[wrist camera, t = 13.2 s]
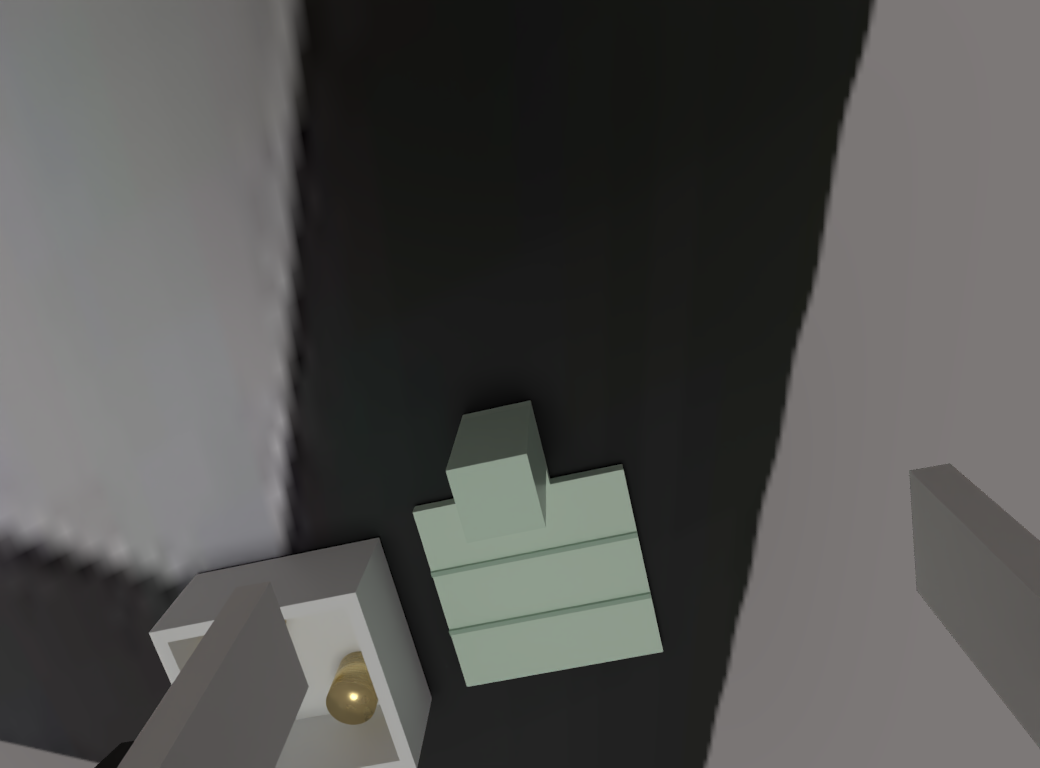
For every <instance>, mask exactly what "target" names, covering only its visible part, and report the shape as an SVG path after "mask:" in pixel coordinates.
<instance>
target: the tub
mask: <svg viewBox="0 0 1040 768" xmlns="http://www.w3.org/2000/svg"><path fill="white" fill-rule="evenodd" d="M269 581H270V582H271V585H272V588H273V590H274V593H275V596H276V598H277V601H278V604H279V607H280V609H281V612H282V615H283V618H284V620H286V626H287V628H288V631H289V634H290V637H291V639H292V642H293V645H294V648H295V650H296V653H297V656H298V658H299V661H300V664H301V667H302V669H303V672H304V675H305V678H306V680H307V683H308V686H309V687H308V690H307V692H306V695H305V697H304V699H303V702H302V704H301V707H300V709H299V711H298V714H297V716H296V719H295V721H294V723H293V726H292V728H291V731H290V733H289V735H288V738H287V740H286V743H285V745H284V747H283V750H282V752H281V755H280V757H279V759H278V762H277V764H276V767H275V768H417V766H418V762H419V757H420V752H421V747H422V743H423V738H424V733H425V728H426V724H427V719H428V714H429V709H430V705H431V700H432V697H431V694H430V691H429V688H428V685H427V682H426V679H425V676H424V673H423V670H422V667H421V664H420V661H419V658H418V655H417V651H416V648H415V645H414V642H413V639H412V636H411V633H410V630H409V627H408V624H407V621H406V618H405V615H404V612H403V609H402V606H401V603H400V600H399V597H398V594H397V591H396V588H395V585H394V582H393V579H392V576H391V572H390V569H389V566H388V563H387V560H386V557H385V554H384V551H383V548H382V545H381V542H380V539H379V538H374V539H369V540H364V541H359V542H354V543H349V544H345V545H340V546H335V547H330V548H325V549H320V550H315V551H310V552H305V553H300V554H295V555H290V556H285V557H281V558H276V559H271V560H266V561H261V562H256V563H251V564H246V565H241V566H236V567H231V568H226V569H222V570H217V571H212V572H207V573H202V574H197V575H195V576H194V578H193V579H192V580H191V581H190V583H189V584H188V585H187V586H186V588H185V589H184V590H183V591H182V593H181V594H180V595H179V596H178V597H177V599H176V600H175V601H174V602H173V604H172V605H171V606H170V607H169V609H168V610H167V611H166V612H165V614H164V615H163V616H162V617H161V618H160V620H159V621H158V622H157V623H156V625H155V626H154V627H153V628H152V630H151V631H150V632H149V635H150V637H151V639H152V641H153V644H154V646H155V648H156V650H157V653H158V655H159V657H160V659H161V662H162V664H163V666H164V668H165V671H166V673H167V675H168V677H169V680H170V682H171V684H173V682H174V681H175V679H176V678H177V676H178V675H179V673H180V671H181V670H182V668H183V667H184V665H185V664H186V662H187V661H188V659H189V658H190V656H191V655H192V653H193V652H194V650H195V649H196V647H197V646H198V644H199V643H200V641H201V640H202V638H203V637H204V635H205V634H206V632H207V631H208V629H209V628H210V626H211V624H212V623H213V621H214V620H215V618H216V617H217V615H218V614H219V612H220V611H221V609H222V608H223V606H224V605H225V603H226V602H227V600H228V599H229V597H230V596H231V594H232V593H233V591H234V590H235V588H236V587H240V586H246V585H252V584H258V583H263V582H269ZM357 651H361V652H362V655H363V658H364V661H365V663H366V666H367V669H368V672H369V675H370V678H371V680H372V683H373V686H374V689H375V692H376V695H377V697H378V703H377V706H376V709H375V712H374V714H373V716H372V717H371V718H370V719H369V720H368V721H366V722H364V723H361V724H356V725H350V724H345V723H342V722H340V721H338V720H336V719H335V718H334V717H333V716H332V715H331V714H330V713H329V711H328V709H327V706H326V697H327V694H328V692H329V689H330V687H331V684H332V682H333V679H334V677H335V674H336V672H337V669H338V667H339V664H340V662H341V660H342V659H343V658H344V657H345V656H346V655H348V654H350V653H352V652H357Z"/></svg>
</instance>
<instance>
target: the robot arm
mask: <svg viewBox="0 0 1040 768" xmlns="http://www.w3.org/2000/svg"><path fill="white" fill-rule="evenodd" d="M909 473H910V489H911V506H912V523H913V539H914V555H915V570H916V586H917V591H918V593H919V594H920V595H921V596H922V598H923V599H924V600H925V602H926V603H927V604H928V606H929V607H930V608H931V609H932V611H933V612H934V613H935V615H936V616H937V617H938V618H939V620H940V621H941V622H942V624H943V625H944V626H945V627H946V629H947V630H948V631H949V633H950V634H951V635H952V636H953V638H954V639H955V640H956V642H957V643H958V644H959V645H960V647H961V648H962V649H963V651H964V652H965V653H966V654H967V656H968V657H969V658H970V660H971V661H972V662H973V663H974V665H975V666H976V667H977V669H978V670H979V671H980V672H981V674H982V675H983V676H984V678H985V679H986V680H987V681H988V682H989V684H990V685H991V686H992V688H993V689H994V690H995V691H996V693H997V694H998V695H999V697H1000V698H1001V699H1002V701H1003V702H1004V703H1005V704H1006V706H1007V707H1008V708H1009V710H1010V711H1011V712H1012V713H1013V715H1014V716H1015V717H1016V719H1017V720H1018V721H1019V722H1020V724H1021V725H1022V726H1023V728H1024V729H1025V730H1026V731H1027V732H1028V734H1029V735H1030V737H1031V738H1032V739H1033V740H1034V742H1035V743H1036V744H1037V745H1038V747H1039V748H1040V541H1039V540H1038V539H1037V538H1036V537H1035V536H1033V535H1032V534H1031V533H1030V532H1029V531H1028V530H1026V529H1025V528H1024V527H1023V526H1022V525H1021V524H1019V523H1018V522H1017V521H1016V520H1015V519H1014V518H1013V517H1011V516H1010V515H1009V514H1008V513H1007V512H1005V511H1004V510H1003V509H1002V508H1001V507H1000V506H999V505H997V504H996V503H995V502H994V501H993V500H992V499H991V498H989V497H988V496H987V495H986V494H985V493H984V492H982V491H981V490H980V489H979V488H978V487H977V486H975V485H974V484H973V483H972V482H971V481H970V480H968V479H967V478H966V477H965V476H964V475H962V474H961V473H960V472H959V471H958V470H957V469H956V468H955V467H953V466H952V465H951V464H945V465H939V466H933V467H927V468H921V469H916V470H910V471H909ZM308 687H309V686H308V683H307V680H306V678H305V675H304V672H303V669H302V667H301V664H300V661H299V658H298V656H297V653H296V650H295V648H294V645H293V642H292V639H291V637H290V634H289V631H288V628H287V626H286V623H285V620H284V618H283V615H282V612H281V609H280V607H279V604H278V601H277V598H276V596H275V593H274V590H273V588H272V585H271V582H270V581H269V582H263V583H258V584H252V585H246V586H240V587H236V588H235V590H234V591H233V593H232V594H231V596H230V597H229V599H228V600H227V602H226V603H225V605H224V606H223V608H222V609H221V611H220V612H219V614H218V615H217V617H216V618H215V620H214V621H213V623H212V624H211V626H210V628H209V629H208V631H207V632H206V634H205V635H204V637H203V638H202V640H201V641H200V643H199V644H198V646H197V647H196V649H195V650H194V652H193V653H192V655H191V656H190V658H189V659H188V661H187V662H186V664H185V665H184V667H183V668H182V670H181V671H180V673H179V675H178V676H177V678H176V679H175V681H174V682H173V684H172V685H171V687H170V688H169V690H168V691H167V693H166V694H165V696H164V697H163V699H162V700H161V702H160V703H159V705H158V706H157V708H156V709H155V711H154V712H153V714H152V715H151V717H150V718H149V720H148V722H147V723H146V725H145V726H144V728H143V729H142V731H141V732H140V734H139V735H138V737H137V738H136V740H135V741H131V742H124V743H121V744H120V745H118V746H117V747H116V748H115V749H114V750H113V751H112V752H111V753H110V754H109V755H108V756H107V757H105V758H104V759H103V760H102V761H101V762H100V763H99V764H98V765H97V766H96V767H95V768H275V767H276V764H277V762H278V759H279V757H280V755H281V752H282V750H283V747H284V745H285V743H286V740H287V738H288V735H289V733H290V731H291V728H292V726H293V723H294V721H295V719H296V716H297V714H298V711H299V709H300V707H301V704H302V702H303V699H304V697H305V695H306V692H307V690H308Z"/></svg>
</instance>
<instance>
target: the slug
mask: <svg viewBox="0 0 1040 768" xmlns="http://www.w3.org/2000/svg"><path fill="white" fill-rule="evenodd" d="M377 703H378V697H377V695H376V692H375V689H374V686H373V683H372V680H371V678H370V675H369V672H368V669H367V666H366V663H365V661H364V658H363V655H362V652H361V651H357V652H352V653H350V654H348V655H346V656H345V657H344V658H343V659H342V660H341V662H340V664H339V667H338V669H337V672H336V674H335V677H334V679H333V682H332V684H331V687H330V689H329V692H328V694H327V697H326V706H327V709H328V711H329V713H330V714H331V715H332V716H333V717H334V718H335V719H336V720H338V721H340V722H342V723H345V724H350V725H356V724H361V723H364V722H366V721H368V720H369V719H370V718H371V717H372V716H373V714H374V712H375V709H376V706H377Z"/></svg>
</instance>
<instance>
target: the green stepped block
mask: <svg viewBox="0 0 1040 768" xmlns="http://www.w3.org/2000/svg"><path fill="white" fill-rule="evenodd" d="M446 473H447V477H448V480H449V484H450V487H451V490H452V494H453V497H454V498H453V499H448V500H444V501H439V502H434V503H429V504H424V505H419V506H415V508H414V511H413V515H414V518H415V521H416V524H417V528H418V531H419V534H420V537H421V541H422V544H423V547H424V550H425V553H426V557H427V560H428V563H429V566H430V569H431V576H432V577H433V579H434V582H435V585H436V589H437V592H438V595H439V598H440V601H441V605H442V608H443V611H444V614H445V617H446V621H447V624H448V627H449V634H450V636H451V637H452V640H453V643H454V646H455V650H456V653H457V656H458V659H459V662H460V666H461V669H462V672H463V675H464V678H465V682H466V685H467V687H469V686H474V685H480V684H486V683H491V682H497V681H502V680H508V679H514V678H519V677H525V676H530V675H536V674H541V673H547V672H553V671H558V670H564V669H569V668H575V667H581V666H586V665H592V664H597V663H603V662H609V661H614V660H620V659H625V658H631V657H636V656H642V655H648V654H653V653H659V652H663V648H662V644H661V639H660V635H659V630H658V625H657V621H656V616H655V612H654V607H653V603H652V598H651V593H650V589H649V584H648V580H647V575H646V571H645V566H644V561H643V557H642V552H641V548H640V543H639V539H638V534H637V529H636V525H635V520H634V516H633V511H632V507H631V502H630V498H629V493H628V488H627V484H626V479H625V475H624V470H623V466H622V464H619V465H614V466H609V467H604V468H599V469H594V470H590V471H585V472H580V473H575V474H570V475H565V476H560V477H555V478H551V479H550V476H549V472H548V468H547V464H546V460H545V456H544V452H543V448H542V444H541V440H540V436H539V432H538V428H537V424H536V420H535V416H534V412H533V408H532V404H531V400H529V401H525V402H520V403H515V404H511V405H506V406H502V407H497V408H492V409H488V410H483V411H479V412H474V413H469V414H465V415H463V416H462V419H461V422H460V426H459V429H458V432H457V436H456V439H455V442H454V445H453V449H452V452H451V455H450V458H449V462H448V465H447V468H446Z"/></svg>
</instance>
